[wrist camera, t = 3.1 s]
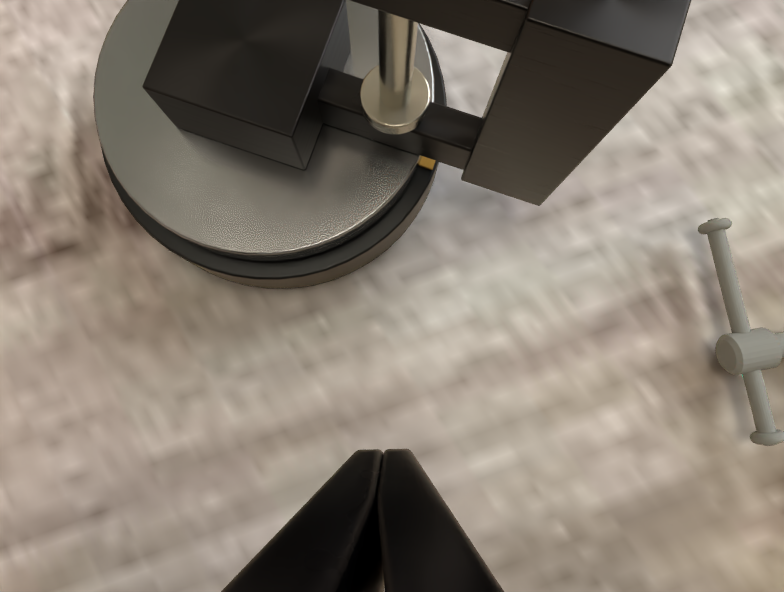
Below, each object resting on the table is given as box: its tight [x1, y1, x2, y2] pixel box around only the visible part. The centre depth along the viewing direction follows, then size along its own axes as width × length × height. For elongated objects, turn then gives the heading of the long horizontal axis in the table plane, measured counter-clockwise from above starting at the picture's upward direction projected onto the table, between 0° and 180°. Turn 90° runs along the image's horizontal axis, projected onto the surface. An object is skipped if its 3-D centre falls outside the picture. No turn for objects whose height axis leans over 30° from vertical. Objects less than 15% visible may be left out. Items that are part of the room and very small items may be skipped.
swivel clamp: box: [93, 0, 691, 261], centre depth 13 cm, size 10×14×10 cm
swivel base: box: [100, 24, 446, 288], centre depth 19 cm, size 11×11×2 cm
